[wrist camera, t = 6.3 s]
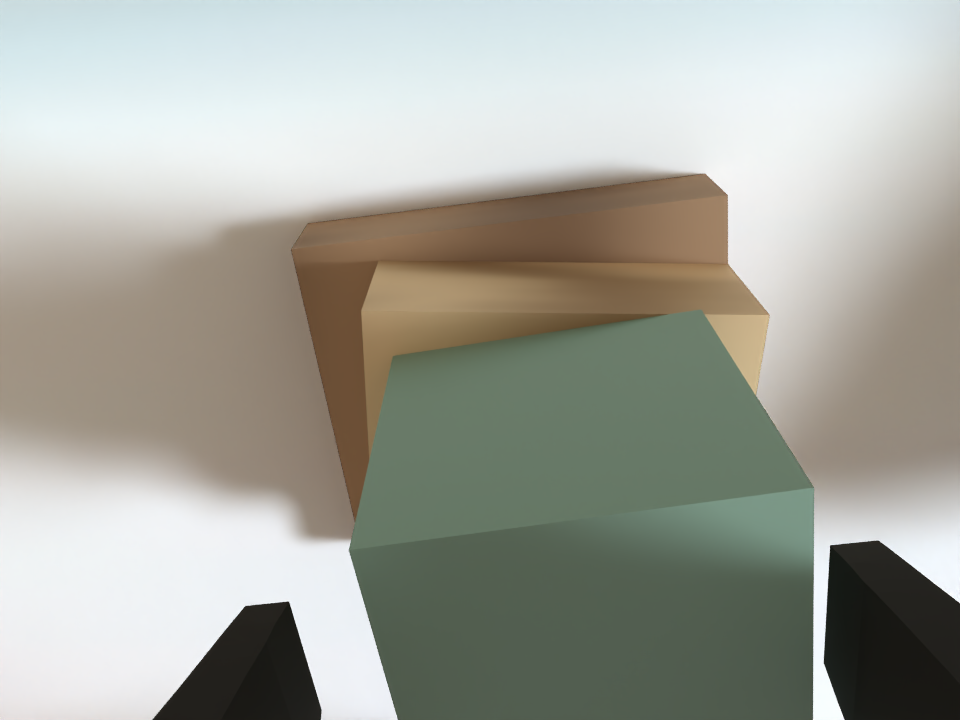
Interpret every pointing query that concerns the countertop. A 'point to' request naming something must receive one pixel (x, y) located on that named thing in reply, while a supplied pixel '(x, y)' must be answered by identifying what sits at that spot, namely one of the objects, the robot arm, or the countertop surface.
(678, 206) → the walnut slab
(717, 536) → the green cube
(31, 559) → the countertop surface
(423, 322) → the oak slab
